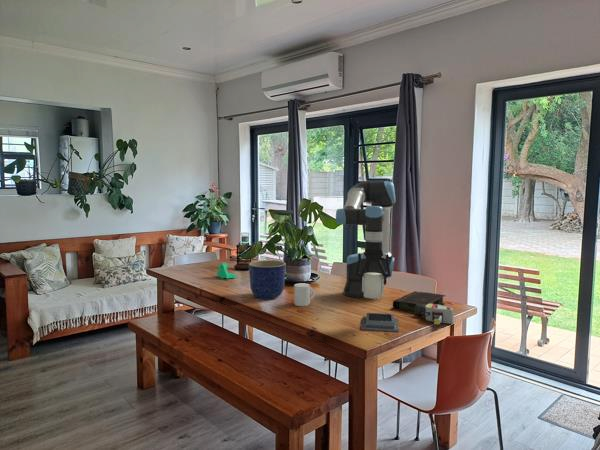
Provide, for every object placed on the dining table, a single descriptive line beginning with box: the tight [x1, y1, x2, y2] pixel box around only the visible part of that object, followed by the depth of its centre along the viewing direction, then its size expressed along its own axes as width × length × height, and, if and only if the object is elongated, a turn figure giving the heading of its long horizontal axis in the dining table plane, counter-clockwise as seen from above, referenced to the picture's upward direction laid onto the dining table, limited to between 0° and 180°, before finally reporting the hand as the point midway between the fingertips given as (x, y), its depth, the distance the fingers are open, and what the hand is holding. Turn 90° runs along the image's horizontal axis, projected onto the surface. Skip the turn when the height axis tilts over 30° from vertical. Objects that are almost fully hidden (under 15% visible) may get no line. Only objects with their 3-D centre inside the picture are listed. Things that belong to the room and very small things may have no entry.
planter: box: [248, 259, 287, 300], centre depth 245 cm, size 21×21×19 cm
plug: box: [363, 273, 383, 300], centre depth 196 cm, size 8×8×10 cm
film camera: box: [414, 303, 455, 325], centre depth 202 cm, size 7×19×15 cm
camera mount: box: [216, 262, 237, 280], centre depth 296 cm, size 12×8×10 cm, turn 44°
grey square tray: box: [360, 312, 400, 333], centre depth 197 cm, size 16×16×4 cm
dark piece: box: [233, 242, 252, 271], centre depth 325 cm, size 15×15×20 cm
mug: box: [293, 282, 316, 307], centre depth 232 cm, size 8×10×12 cm
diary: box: [392, 290, 446, 314], centre depth 226 cm, size 19×25×5 cm
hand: (372, 291), depth 196 cm, fingers closed on plug, 8 cm apart
